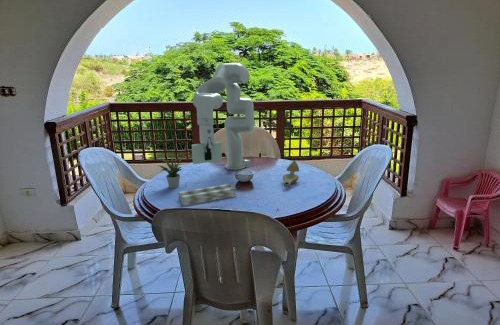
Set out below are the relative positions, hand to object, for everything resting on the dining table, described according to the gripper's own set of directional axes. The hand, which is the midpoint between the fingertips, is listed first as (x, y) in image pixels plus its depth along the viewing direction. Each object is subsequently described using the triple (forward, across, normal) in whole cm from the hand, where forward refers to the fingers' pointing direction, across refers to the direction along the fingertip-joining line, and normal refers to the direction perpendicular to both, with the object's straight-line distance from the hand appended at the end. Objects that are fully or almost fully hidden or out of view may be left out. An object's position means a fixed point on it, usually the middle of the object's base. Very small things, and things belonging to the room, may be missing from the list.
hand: (207, 158), depth 163 cm
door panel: (+1, 0, 0) cm, 1 cm away
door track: (+18, -4, +2) cm, 18 cm away
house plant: (+18, +19, +13) cm, 29 cm away
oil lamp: (+18, -4, -44) cm, 48 cm away
